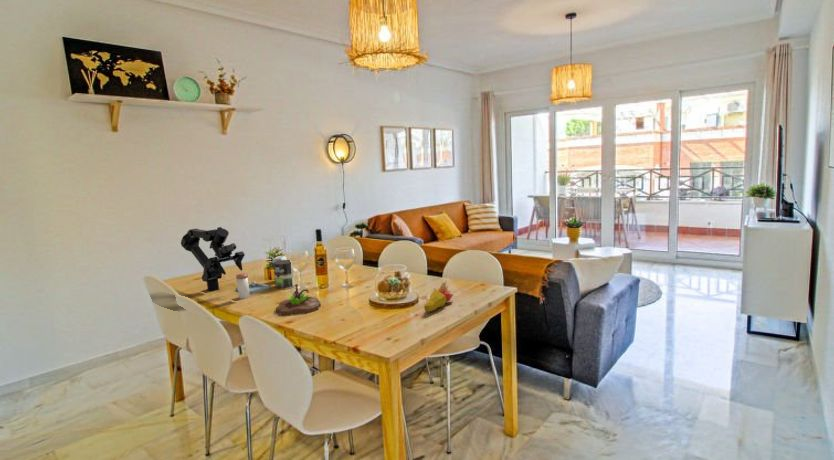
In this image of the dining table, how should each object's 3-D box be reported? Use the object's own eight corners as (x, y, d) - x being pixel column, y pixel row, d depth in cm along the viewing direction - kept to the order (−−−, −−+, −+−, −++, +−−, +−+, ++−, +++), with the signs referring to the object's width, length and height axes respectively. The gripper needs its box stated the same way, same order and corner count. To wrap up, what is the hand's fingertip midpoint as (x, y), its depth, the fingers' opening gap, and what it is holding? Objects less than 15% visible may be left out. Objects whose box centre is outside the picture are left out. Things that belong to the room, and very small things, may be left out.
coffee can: (287, 290, 245) (284, 264, 243) (271, 289, 249) (268, 263, 247) (298, 285, 255) (296, 260, 253) (283, 284, 259) (281, 259, 256)
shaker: (236, 299, 233) (233, 275, 232) (246, 296, 238) (243, 272, 236) (242, 301, 230) (240, 276, 228) (252, 298, 234) (249, 274, 232)
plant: (320, 299, 227) (318, 277, 225) (321, 312, 208) (319, 288, 206) (278, 304, 223) (276, 281, 221) (274, 317, 204) (272, 293, 202)
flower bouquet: (425, 323, 198) (445, 298, 219) (440, 316, 194) (458, 292, 216) (415, 306, 197) (436, 283, 219) (430, 299, 193) (449, 277, 215)
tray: (236, 291, 248) (235, 287, 247) (255, 286, 257) (255, 282, 257) (251, 295, 239) (250, 291, 239) (271, 289, 248) (270, 285, 248)
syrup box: (284, 283, 260) (282, 258, 258) (274, 283, 261) (272, 258, 259) (289, 280, 265) (286, 255, 263) (279, 280, 267) (277, 256, 264)
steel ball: (250, 286, 253) (249, 281, 253) (255, 285, 255) (254, 280, 255) (253, 287, 251) (252, 282, 251) (258, 286, 254) (257, 280, 253)
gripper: (206, 242, 230) (221, 266, 225) (240, 236, 244) (255, 258, 239) (200, 256, 236) (214, 280, 231) (234, 249, 250) (248, 271, 245)
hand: (233, 272), depth 236 cm, fingers open, 9 cm apart
